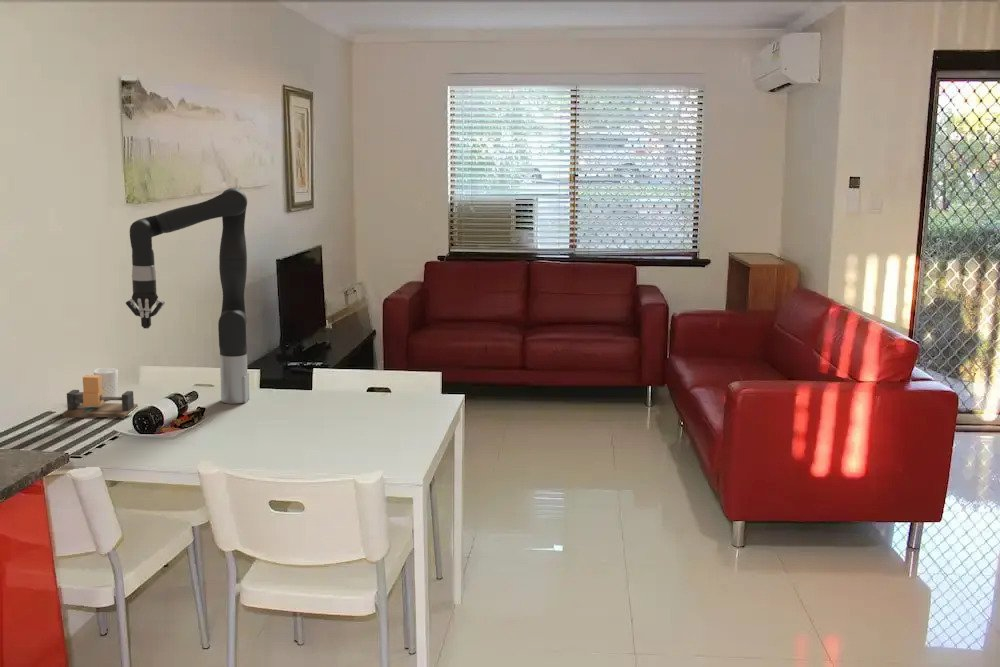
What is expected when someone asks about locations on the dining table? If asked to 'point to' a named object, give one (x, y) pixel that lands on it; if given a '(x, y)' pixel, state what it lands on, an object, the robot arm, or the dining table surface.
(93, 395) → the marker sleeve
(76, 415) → the wooden board with posts
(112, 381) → the white cup
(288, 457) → the dining table surface
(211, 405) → the dining table surface
